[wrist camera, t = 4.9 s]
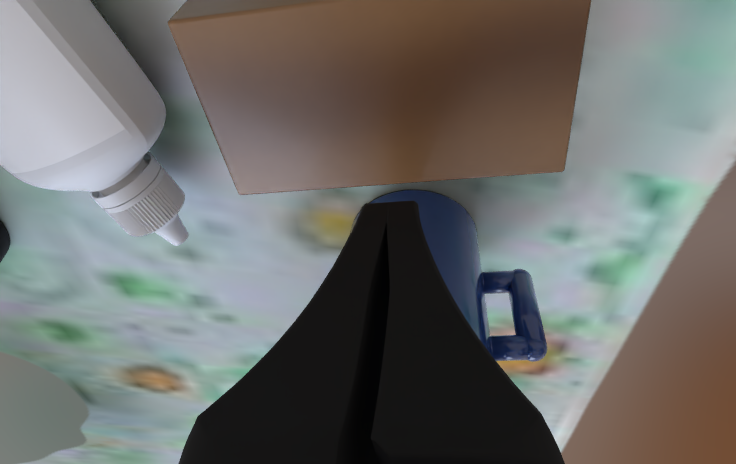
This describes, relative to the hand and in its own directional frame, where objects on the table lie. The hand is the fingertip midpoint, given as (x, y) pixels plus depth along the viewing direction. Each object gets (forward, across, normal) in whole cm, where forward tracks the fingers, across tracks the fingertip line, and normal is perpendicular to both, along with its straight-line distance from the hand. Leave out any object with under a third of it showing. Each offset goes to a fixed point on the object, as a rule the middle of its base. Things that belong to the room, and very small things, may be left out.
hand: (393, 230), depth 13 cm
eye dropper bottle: (+4, +12, -8) cm, 15 cm away
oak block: (+5, 0, -3) cm, 6 cm away
